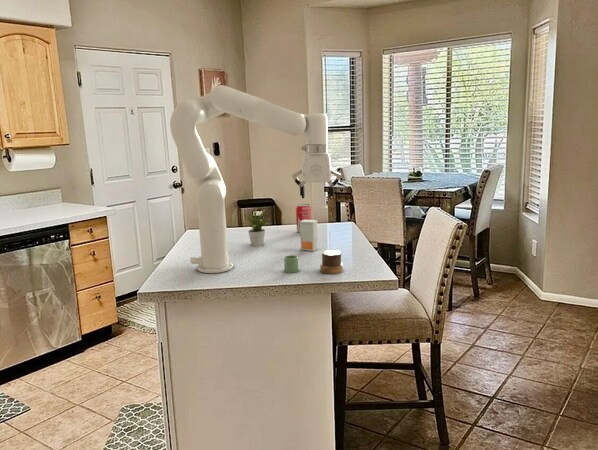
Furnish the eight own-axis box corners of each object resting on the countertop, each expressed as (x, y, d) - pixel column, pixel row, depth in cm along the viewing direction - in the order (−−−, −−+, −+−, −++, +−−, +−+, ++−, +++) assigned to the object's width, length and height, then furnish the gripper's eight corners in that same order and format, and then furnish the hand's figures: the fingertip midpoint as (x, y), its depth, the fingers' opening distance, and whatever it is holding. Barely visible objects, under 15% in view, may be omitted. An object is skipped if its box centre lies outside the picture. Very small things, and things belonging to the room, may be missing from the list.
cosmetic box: (300, 250, 207) (299, 221, 205) (305, 247, 211) (304, 219, 209) (313, 251, 204) (313, 222, 202) (318, 249, 208) (317, 220, 206)
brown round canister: (321, 266, 174) (321, 255, 173) (322, 261, 181) (322, 250, 180) (341, 266, 173) (340, 255, 173) (341, 261, 180) (341, 250, 179)
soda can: (314, 230, 242) (313, 203, 240) (306, 233, 237) (305, 206, 234) (301, 229, 246) (301, 203, 244) (293, 232, 240) (292, 205, 238)
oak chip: (319, 274, 174) (319, 267, 174) (321, 267, 182) (321, 261, 181) (342, 274, 173) (342, 267, 173) (342, 267, 181) (342, 260, 180)
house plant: (241, 250, 209) (238, 211, 206) (235, 243, 222) (233, 206, 219) (274, 247, 213) (273, 208, 210) (267, 240, 226) (265, 203, 223)
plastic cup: (283, 272, 177) (283, 259, 176) (285, 268, 182) (285, 255, 181) (297, 272, 176) (297, 258, 175) (298, 268, 181) (298, 255, 180)
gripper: (290, 150, 175) (291, 199, 179) (341, 149, 173) (340, 199, 177) (293, 149, 183) (294, 196, 186) (341, 148, 181) (341, 196, 184)
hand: (316, 198), depth 182 cm, fingers open, 9 cm apart
